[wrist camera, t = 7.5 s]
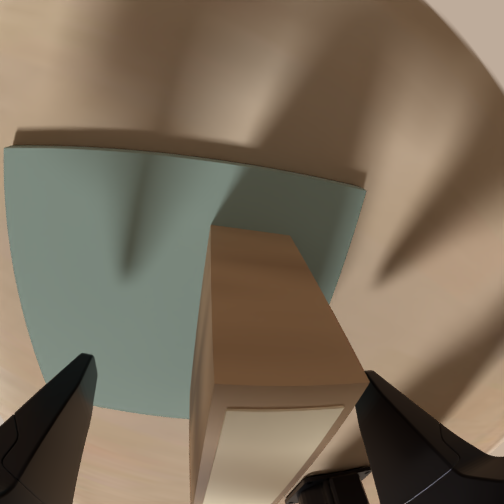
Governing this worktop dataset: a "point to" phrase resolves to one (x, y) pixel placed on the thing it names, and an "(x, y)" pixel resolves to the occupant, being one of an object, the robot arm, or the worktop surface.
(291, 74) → the worktop surface
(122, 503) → the worktop surface
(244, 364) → the slab
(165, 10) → the worktop surface
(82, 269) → the mat
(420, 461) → the robot arm
